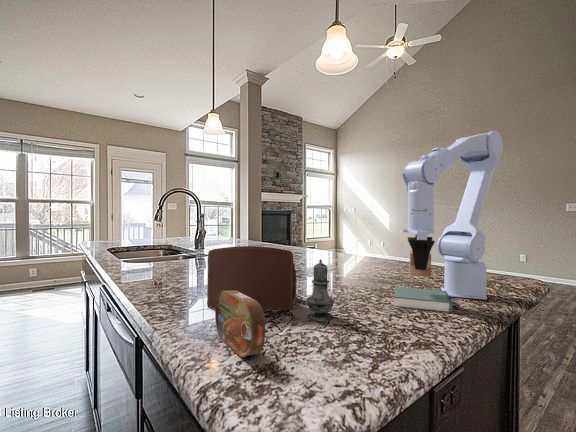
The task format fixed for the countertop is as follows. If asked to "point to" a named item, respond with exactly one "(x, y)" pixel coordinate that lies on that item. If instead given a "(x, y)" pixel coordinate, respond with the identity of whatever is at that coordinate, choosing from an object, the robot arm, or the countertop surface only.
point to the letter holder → (253, 275)
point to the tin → (240, 322)
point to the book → (422, 299)
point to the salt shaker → (320, 295)
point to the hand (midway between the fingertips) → (420, 267)
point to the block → (420, 272)
